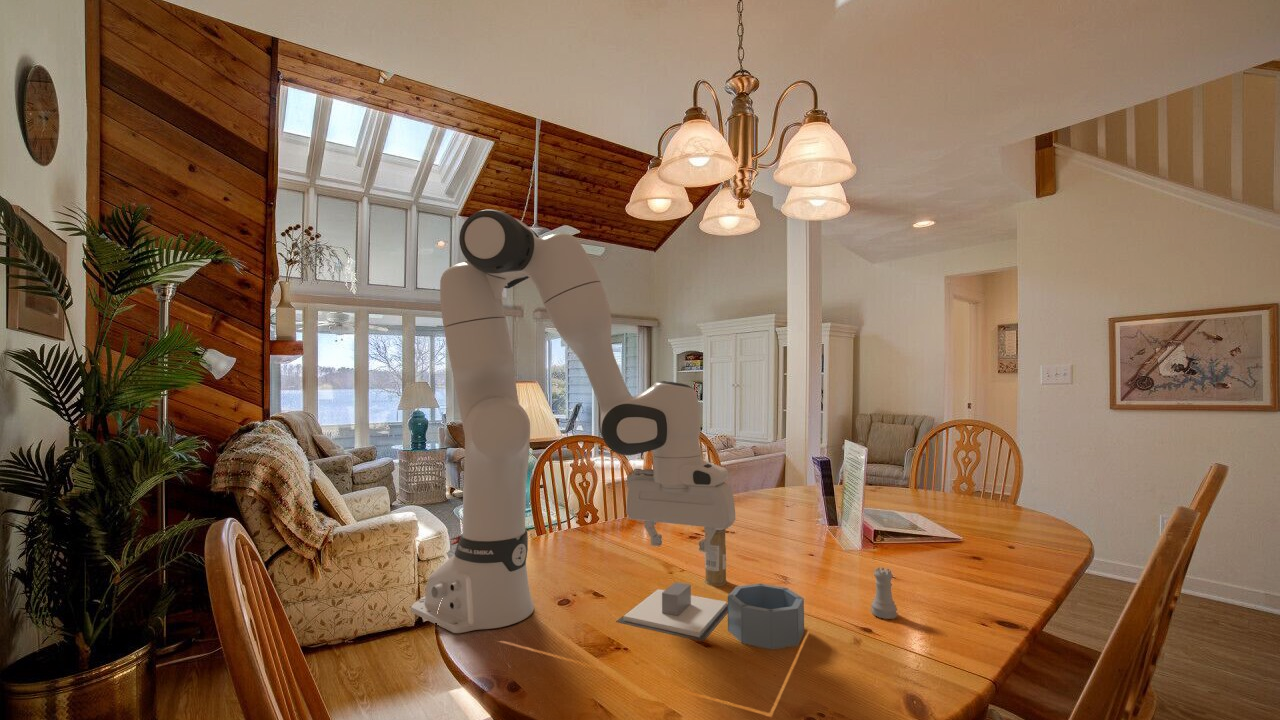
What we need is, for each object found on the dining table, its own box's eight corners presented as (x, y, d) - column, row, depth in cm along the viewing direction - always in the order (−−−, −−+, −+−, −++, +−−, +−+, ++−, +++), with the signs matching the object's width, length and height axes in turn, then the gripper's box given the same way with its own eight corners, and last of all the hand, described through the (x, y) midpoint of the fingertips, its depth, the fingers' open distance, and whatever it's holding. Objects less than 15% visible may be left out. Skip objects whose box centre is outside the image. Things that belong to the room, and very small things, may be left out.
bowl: (721, 640, 88) (720, 602, 88) (742, 614, 98) (741, 580, 99) (794, 657, 83) (793, 616, 83) (808, 627, 93) (807, 591, 93)
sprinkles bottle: (731, 585, 113) (730, 518, 113) (714, 589, 110) (714, 522, 111) (716, 578, 117) (716, 514, 117) (699, 582, 114) (699, 517, 115)
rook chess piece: (882, 621, 95) (881, 575, 96) (865, 611, 99) (864, 566, 100) (903, 618, 96) (902, 572, 97) (886, 608, 101) (885, 564, 101)
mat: (615, 624, 94) (615, 621, 94) (655, 592, 109) (655, 590, 109) (703, 643, 87) (703, 641, 87) (733, 607, 101) (733, 605, 101)
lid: (623, 620, 95) (623, 595, 95) (658, 593, 107) (657, 570, 107) (699, 637, 88) (699, 610, 89) (726, 606, 101) (726, 582, 101)
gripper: (618, 470, 101) (621, 546, 100) (725, 476, 91) (728, 560, 91) (634, 465, 106) (637, 537, 106) (736, 470, 97) (739, 549, 97)
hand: (680, 548), depth 98 cm, fingers open, 8 cm apart
